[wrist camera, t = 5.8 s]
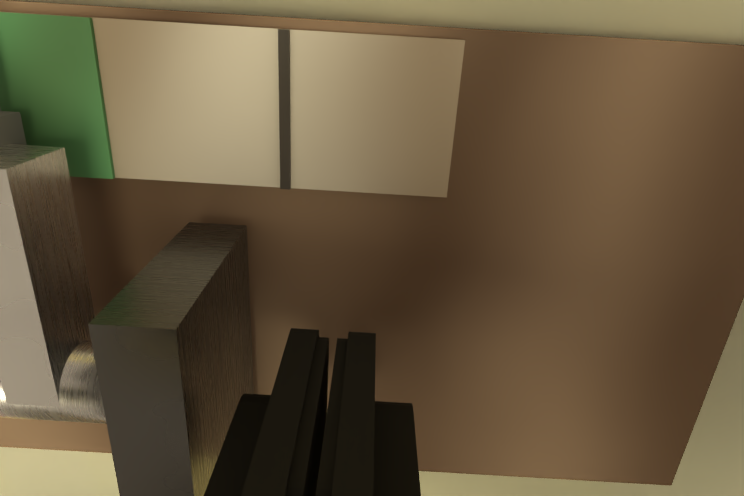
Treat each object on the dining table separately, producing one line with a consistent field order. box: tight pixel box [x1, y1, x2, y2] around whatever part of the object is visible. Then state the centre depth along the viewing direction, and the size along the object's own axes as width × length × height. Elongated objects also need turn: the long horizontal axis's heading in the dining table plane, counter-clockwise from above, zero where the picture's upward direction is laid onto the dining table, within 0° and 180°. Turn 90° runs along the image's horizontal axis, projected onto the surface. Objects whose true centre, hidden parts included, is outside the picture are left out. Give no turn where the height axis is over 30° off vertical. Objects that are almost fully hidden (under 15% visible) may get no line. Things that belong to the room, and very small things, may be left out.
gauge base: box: [0, 0, 744, 485], centre depth 10 cm, size 26×11×6 cm, turn 87°
